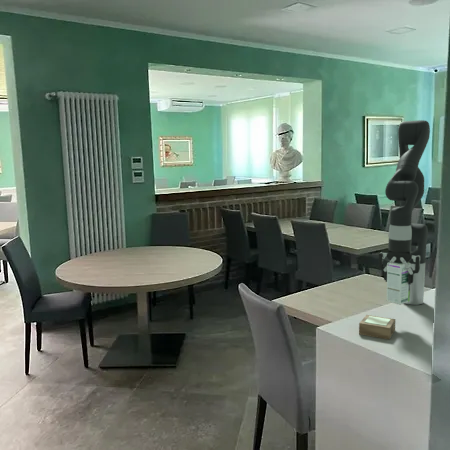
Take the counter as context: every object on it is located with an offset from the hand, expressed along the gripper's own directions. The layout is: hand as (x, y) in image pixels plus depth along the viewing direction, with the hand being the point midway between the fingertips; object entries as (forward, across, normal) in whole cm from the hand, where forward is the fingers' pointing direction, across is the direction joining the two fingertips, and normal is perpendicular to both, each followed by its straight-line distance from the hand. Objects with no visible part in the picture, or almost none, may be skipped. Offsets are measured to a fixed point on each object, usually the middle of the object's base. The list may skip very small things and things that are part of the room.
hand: (398, 282), depth 166 cm
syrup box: (+7, 0, 0) cm, 7 cm away
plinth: (+16, +4, +11) cm, 19 cm away
